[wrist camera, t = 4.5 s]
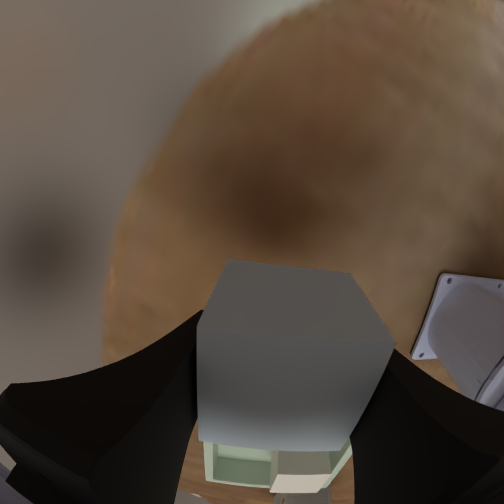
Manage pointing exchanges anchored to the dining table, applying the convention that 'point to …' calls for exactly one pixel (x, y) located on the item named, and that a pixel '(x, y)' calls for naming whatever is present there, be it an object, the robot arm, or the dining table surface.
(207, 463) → the crate
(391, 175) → the dining table surface
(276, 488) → the beige cube
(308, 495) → the small box
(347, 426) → the grey cube
